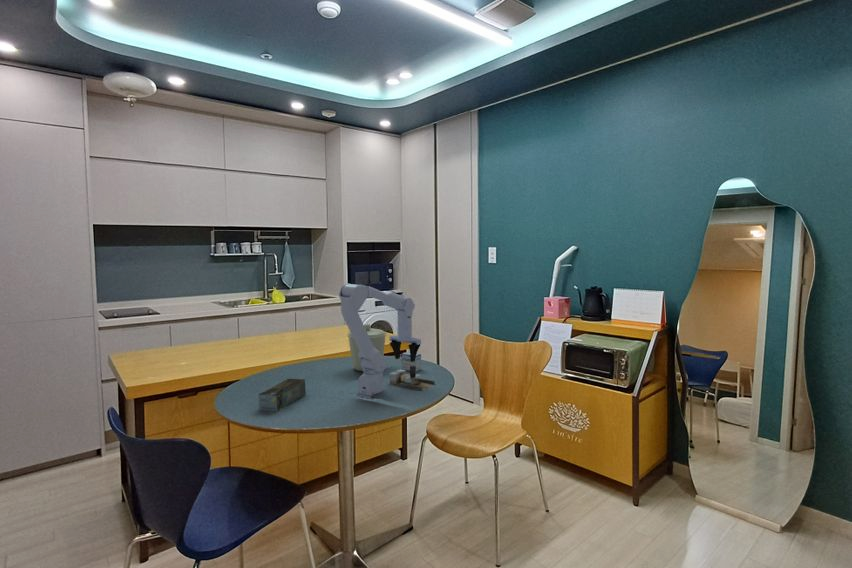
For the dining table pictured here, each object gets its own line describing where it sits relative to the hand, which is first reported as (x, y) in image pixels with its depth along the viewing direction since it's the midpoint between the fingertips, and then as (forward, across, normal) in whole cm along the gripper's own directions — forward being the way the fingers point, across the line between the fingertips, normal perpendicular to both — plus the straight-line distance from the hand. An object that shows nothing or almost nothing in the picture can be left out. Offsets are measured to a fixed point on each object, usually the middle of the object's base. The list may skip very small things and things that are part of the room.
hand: (405, 359), depth 184 cm
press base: (+10, -4, +2) cm, 11 cm away
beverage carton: (+11, +26, +40) cm, 49 cm away
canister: (+11, +29, -10) cm, 33 cm away
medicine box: (+11, +8, -16) cm, 21 cm away
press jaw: (+9, -5, +2) cm, 10 cm away
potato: (+9, -1, +2) cm, 9 cm away
